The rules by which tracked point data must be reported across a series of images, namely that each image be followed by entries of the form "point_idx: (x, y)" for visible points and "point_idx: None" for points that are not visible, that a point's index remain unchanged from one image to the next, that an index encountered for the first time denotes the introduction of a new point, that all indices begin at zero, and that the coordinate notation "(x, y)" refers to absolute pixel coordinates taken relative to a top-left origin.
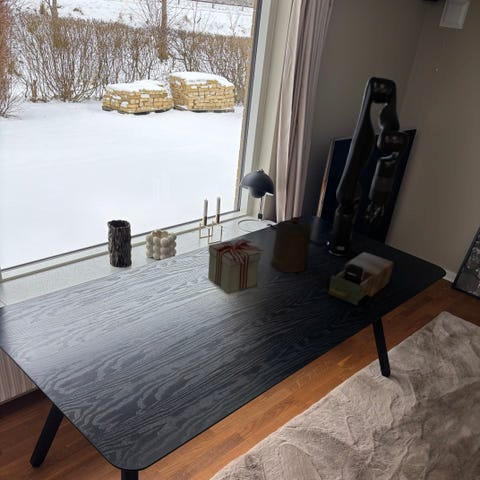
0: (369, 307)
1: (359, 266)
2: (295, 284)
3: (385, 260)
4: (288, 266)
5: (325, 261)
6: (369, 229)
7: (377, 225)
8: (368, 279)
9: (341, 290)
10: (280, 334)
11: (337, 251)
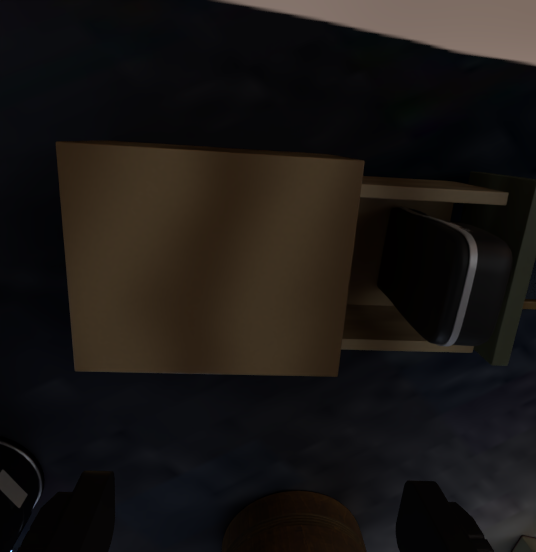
0: (441, 118)
1: (473, 277)
2: (430, 450)
3: (84, 205)
4: (362, 541)
5: (137, 470)
6: (428, 496)
7: (111, 487)
8: (415, 189)
9: None
10: None
11: (28, 482)
